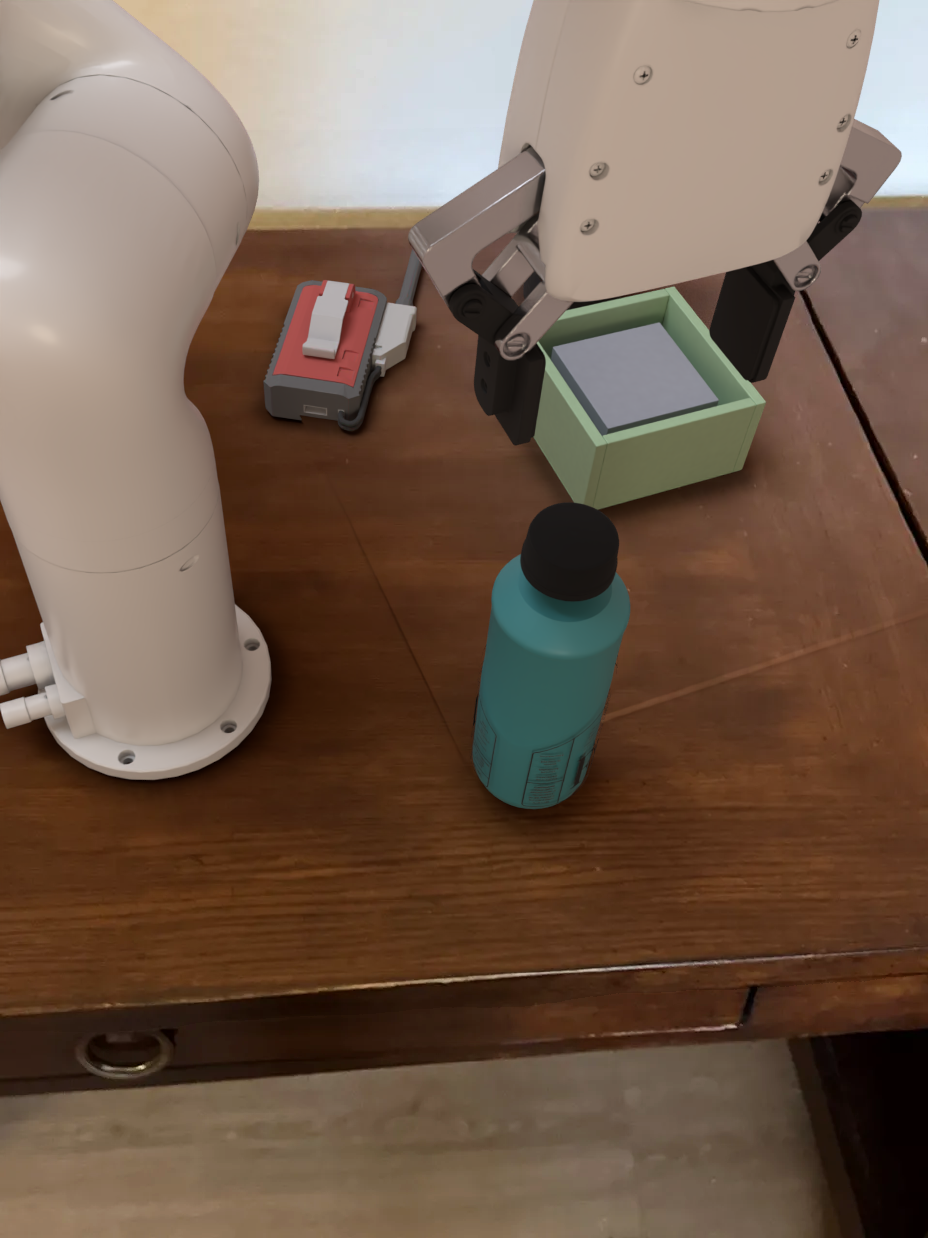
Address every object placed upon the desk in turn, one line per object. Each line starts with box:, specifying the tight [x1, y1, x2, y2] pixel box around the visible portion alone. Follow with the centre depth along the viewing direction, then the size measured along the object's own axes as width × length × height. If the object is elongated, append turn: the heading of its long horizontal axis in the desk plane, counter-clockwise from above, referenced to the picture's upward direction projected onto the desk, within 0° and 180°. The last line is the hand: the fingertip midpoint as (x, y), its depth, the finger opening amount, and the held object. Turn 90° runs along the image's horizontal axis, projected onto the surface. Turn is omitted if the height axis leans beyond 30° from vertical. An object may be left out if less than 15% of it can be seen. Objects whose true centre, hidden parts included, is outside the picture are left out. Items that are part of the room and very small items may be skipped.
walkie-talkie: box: [262, 248, 423, 432], centre depth 85 cm, size 9×4×20 cm
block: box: [551, 323, 719, 436], centre depth 80 cm, size 8×8×5 cm
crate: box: [533, 286, 767, 510], centre depth 80 cm, size 12×12×7 cm
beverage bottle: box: [469, 501, 631, 810], centre depth 58 cm, size 6×7×20 cm
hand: (624, 387), depth 45 cm, fingers open, 9 cm apart
